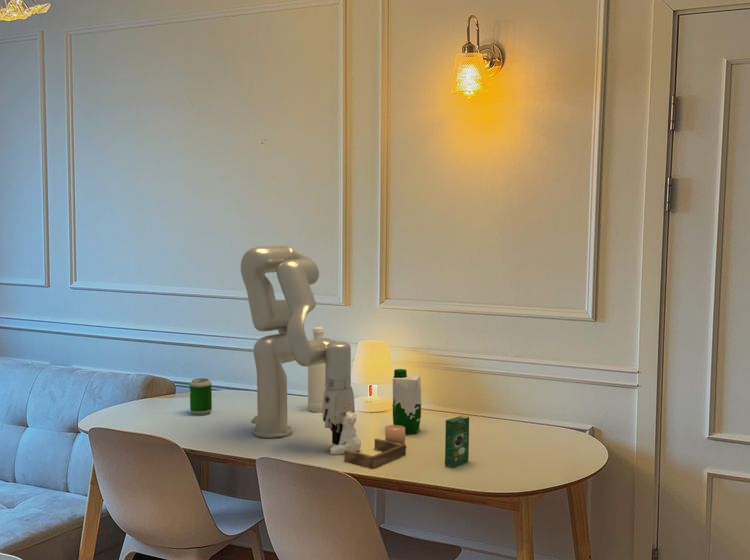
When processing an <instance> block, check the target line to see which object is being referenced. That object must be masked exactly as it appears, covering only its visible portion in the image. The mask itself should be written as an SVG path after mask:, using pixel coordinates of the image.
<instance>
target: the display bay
mask: <svg viewBox="0 0 750 560" xmlns="http://www.w3.org/2000/svg"><path fill="white" fill-rule="evenodd" d="M375 449H377V450H376V451H380V450H381V451H380V453H377V454H375V455H369V454H366V453H362V452H358V451H357V452H354V451H350V450H345V451H344V454H343V458H344V459H343V461H344V462H346V463H350V464H354V465H358V466H362V467H365V468H369V469H374V470H375V469H377V468H379V467H382V466H384V465H386V464H388V463H390V461H391V462H393V461H395V460H398V459H400V458H403V457H404V456H407V455H406V454H407V445H406V444H405V445H404V444H399V443H395V442H390V441H386V440H385V439H382V438H375V439H374V450H375ZM384 451H385V452H384ZM402 456H403V457H402ZM397 458H398V459H397ZM385 463H386V464H385ZM383 464H384V465H383Z"/></svg>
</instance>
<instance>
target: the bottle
mask: <svg viewBox="0 0 750 560" xmlns="http://www.w3.org/2000/svg"><path fill="white" fill-rule="evenodd" d="M324 333H325V330H324V327H322V326H315V327H313V330H312V334H313V335H312V336H313V339H312V340H315V339H321V338H324ZM325 378H326V377H325V363H323V364H317V365H313V366H308V367H307V400H308V401H307V407H308V408H307V409H308V412H310V411H312V412H311V413H315V412H321V413H323V398H324V392H325Z"/></svg>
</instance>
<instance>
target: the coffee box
mask: <svg viewBox="0 0 750 560" xmlns="http://www.w3.org/2000/svg"><path fill="white" fill-rule="evenodd" d="M444 436H445V440H444V441H445V445H444V446H445V449H444V451H445V452H444V466H445V467H446V468H447V467H448V468H449V469H451V468H454V467H458V466H460V465H462V464H466V463H467V462H469V458H470V457H469V456H470V455H469V453H470V452H469V448H470V447H469V446H470V442H469V441H470V440H469V439H470V417H469V416H468V415H467V416H465V415H460V416H456V417H453V418H449V419H446V420H445V435H444Z"/></svg>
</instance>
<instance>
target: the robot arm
mask: <svg viewBox="0 0 750 560" xmlns="http://www.w3.org/2000/svg"><path fill="white" fill-rule="evenodd" d="M267 273H268V274H269V273H276V277H277V281H278V283H279V286H280V289H281V291H282V295H283V296H284V299H279V300H277V299H276V296H275V295H276V294H275V290H274V287H273V284H272V282H271V281H270V279H269V278H268V277H267V276H266V274H267ZM240 275H241V279H242V281H243V284H244V287H245V289H246V293H247V300H248V305H249V312H250V315H251V321H252V325H253V327H254V328H255V329H256V330H257V331H258V332H272V331H278V333H276V334H275V333H274V334H270V335H266V336H263V337H260V338H259V339H257V341H256V342H255V344H254V345H253V349H252V350H253V357H254V358H253V359H254V363H255V367H256V368H255V371H256V390H257V391H256V392H257V393H256V394H257V396H256V397H257V398H256V399H257V401H256V403H257V406H256V407H257V415H255V416H254V417H253V418H252V419H251V420H250V423H251V424H254V425H255V427H254V428H253V429H252V434H253V435H254V436H255V437H258V438H263V439H275V438H282V437H283V438H284V437H288V436H289V435H292V433H293V428H292V426H289V425H288V378H287V377H288V376H287V373H286V371H285V369H284V366H283V365H282V364H285V363H291V362H294V361H295V362H296V364H298V365H300V366H302V367H307V368H308V366H313V365H317V364H323V363H325V377H326V378H325V392H324V398H323V412H322V421H323V422H324V428H325V429H330V432H331V437H332V438H331V440H332V441H331V443H332V445H338V444H339V442H340V436H341V432H342V427H343V425H342V424H341V423H342V422H343V418H344V416H345V414H346V412H348V411H350V412H352V413H354V412H355V413H356V410H355V408H356V407H355V397H354V390H353V387H352V384H351V383H352V382H351V381H352V379H351V378H352V361H351V360H352V349H351V344H350V343H348V342H346V341H336V340H334V339H331V338H327V337H323V338H321V339H315V340H313V339H308V337H307V335H306V331H305V320H306V318H307V316H308V314H309V313H310V312H312V311H313V310H314V309H315V308H316V306H317V302H316V300H315V296H314V293H313V291H312V288H311V285H312V286H313V285H315V284H317V282H318V280H319V278H320V270H319V267H318V265H317V263H316V262H315V261H314V260H313V259H312V258H309V256H306V255H304V254H303V253H301V252H299V251H298V250H296V249H295V248H293V247H290V246H287V245H261V246H256V247H255V246H254V247H252V248H249V249H248V250H247V251H246V252H245V253H244V254H243V256H242V257H241V262H240Z"/></svg>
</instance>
